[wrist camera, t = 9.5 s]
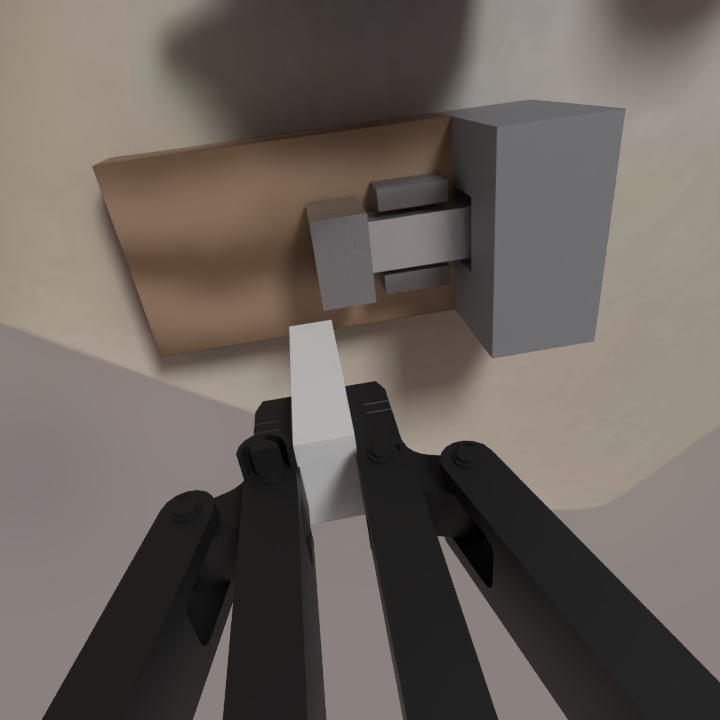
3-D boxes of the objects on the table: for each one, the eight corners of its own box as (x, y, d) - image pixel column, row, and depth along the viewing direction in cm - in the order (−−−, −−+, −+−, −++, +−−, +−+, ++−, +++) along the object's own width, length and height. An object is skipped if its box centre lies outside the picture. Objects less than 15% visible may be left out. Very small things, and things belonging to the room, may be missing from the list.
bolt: (305, 203, 30) (308, 221, 26) (520, 171, 30) (554, 185, 26) (318, 282, 32) (323, 310, 28) (516, 251, 33) (547, 275, 29)
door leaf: (108, 158, 30) (76, 173, 25) (437, 112, 31) (464, 119, 26) (169, 336, 36) (152, 375, 31) (443, 292, 37) (466, 323, 32)
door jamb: (437, 112, 31) (497, 126, 22) (531, 99, 31) (625, 108, 23) (443, 292, 37) (492, 358, 28) (522, 280, 37) (594, 341, 29)
